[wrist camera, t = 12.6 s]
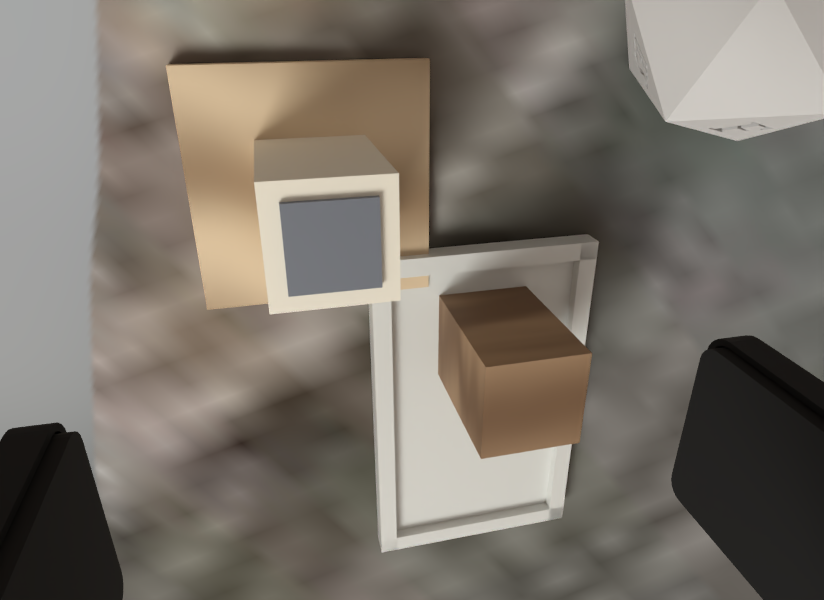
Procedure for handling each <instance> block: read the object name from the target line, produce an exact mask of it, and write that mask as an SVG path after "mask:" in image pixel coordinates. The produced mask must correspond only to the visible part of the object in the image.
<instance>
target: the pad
mask: <svg viewBox="0 0 824 600" xmlns="http://www.w3.org/2000/svg"><path fill="white" fill-rule="evenodd" d="M166 69H167V75H168V81H169V87H170V93H171V99H172V105H173V111H174V117H175V122H176V128H177V134H178V140H179V146H180V152H181V158H182V164H183V170H184V175H185V181H186V187H187V193H188V199H189V205H190V211H191V217H192V223H193V228H194V234H195V240H196V246H197V252H198V258H199V264H200V270H201V275H202V281H203V287H204V293H205V299H206V305H207V310H210V309H219V308H229V307H239V306H248V305H258V304H268V296H267V288H266V279H265V271H264V263H263V254H262V246H261V237H260V229H259V220H258V212H257V203H256V195H255V187H254V140H265V139H286V138H307V137H328V136H349V135H366V137H367V138H368V139H369V140H370V141H371V142H372V143H373V144H374V146H375V147H376V148H377V149H378V150H379V151H380V152H381V153H382V155H383V156H384V157H385V158H386V159H387V160H388V161H389V163H390V164H391V165H392V166H393V167H394V168H395V169H396V170H397V172H398V173H399V212H400V256H410V255H421V254H429V128H430V59H428V58H401V59H360V60H319V61H278V62H237V63H196V64H168V65H166ZM400 284H401V290H403V289H413V288H422V287H429V276H419V277H409V278H400Z"/></svg>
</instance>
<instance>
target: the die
mask: <svg viewBox="0 0 824 600" xmlns="http://www.w3.org/2000/svg"><path fill="white" fill-rule="evenodd" d="M625 7H626V23H627V39H628V56H629V69H630V70H631V72H632V73H633V75H634V76H635V77H636V79H637V80H638V82H639V83H640V85H641V86H642V88H643V89H644V91H645V92H646V94H647V95H648V97H649V98H650V99H651V101H652V102H653V104H654V105H655V107H656V108H657V110H658V111H659V113H660V114H661V116H662V117H663V119H664V120H665V121H666V122H669V123H673V124H676V125H680V126H684V127H687V128H691V129H695V130H699V131H702V132H706V133H710V134H713V135H717V136H721V137H725V138H728V139H732V140H736V141H739V140H743V139H747V138H751V137H754V136H758V135H762V134H766V133H770V132H774V131H778V130H781V129H785V128H789V127H793V126H797V125H801V124H805V123H809V122H812V121H816V120H820V119H824V0H625Z"/></svg>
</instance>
